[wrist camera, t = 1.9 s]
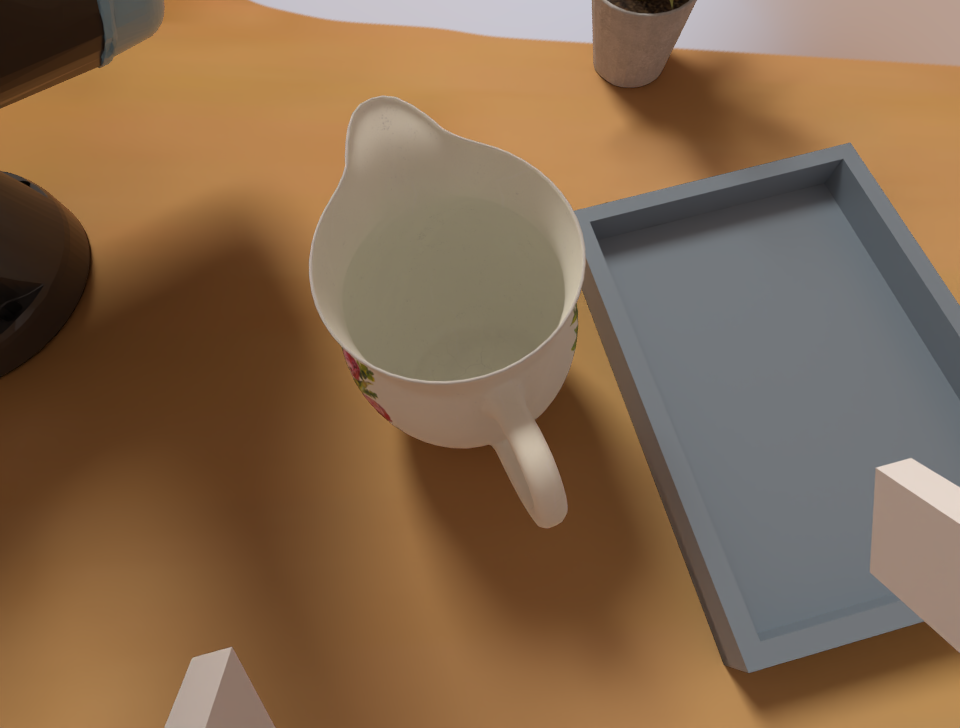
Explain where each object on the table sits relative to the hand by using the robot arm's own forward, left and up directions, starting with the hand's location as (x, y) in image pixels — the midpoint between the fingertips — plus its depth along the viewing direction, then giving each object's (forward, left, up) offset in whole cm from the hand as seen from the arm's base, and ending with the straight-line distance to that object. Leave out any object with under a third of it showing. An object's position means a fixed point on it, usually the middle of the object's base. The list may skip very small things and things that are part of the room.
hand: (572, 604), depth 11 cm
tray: (-7, +17, -19) cm, 26 cm away
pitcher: (-11, 0, -19) cm, 22 cm away
